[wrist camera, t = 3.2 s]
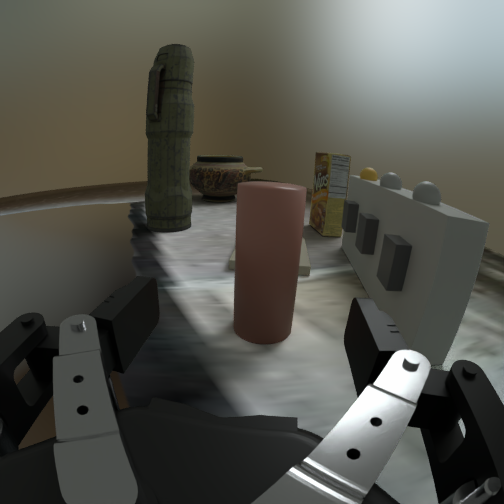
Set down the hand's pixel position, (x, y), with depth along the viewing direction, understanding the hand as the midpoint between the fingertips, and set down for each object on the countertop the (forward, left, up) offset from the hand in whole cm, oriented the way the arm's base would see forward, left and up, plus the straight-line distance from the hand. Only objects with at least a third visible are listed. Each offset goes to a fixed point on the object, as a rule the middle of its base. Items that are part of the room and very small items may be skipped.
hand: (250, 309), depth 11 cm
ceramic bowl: (+17, -73, -9) cm, 76 cm away
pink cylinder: (0, -11, -8) cm, 14 cm away
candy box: (-10, -46, -9) cm, 48 cm away
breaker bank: (-14, -21, -8) cm, 27 cm away
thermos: (+20, -41, -9) cm, 47 cm away
